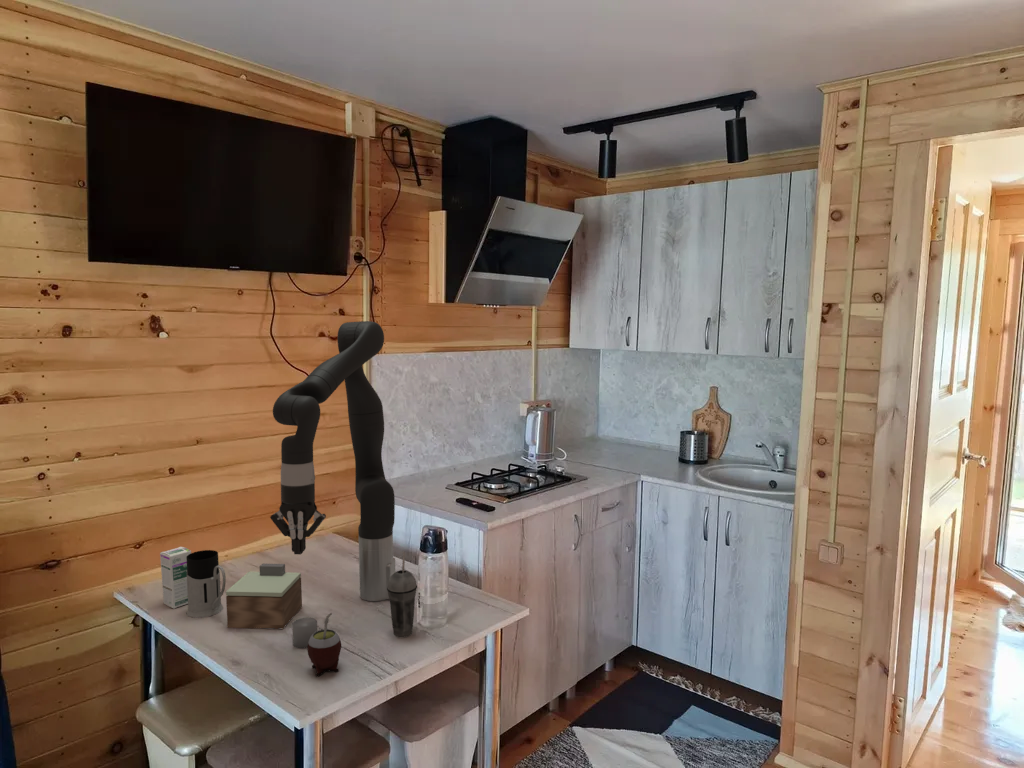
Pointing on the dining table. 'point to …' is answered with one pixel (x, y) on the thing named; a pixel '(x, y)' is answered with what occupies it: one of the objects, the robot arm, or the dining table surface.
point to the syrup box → (174, 576)
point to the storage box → (264, 609)
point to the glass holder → (204, 584)
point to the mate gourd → (324, 649)
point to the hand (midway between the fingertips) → (298, 553)
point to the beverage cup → (402, 601)
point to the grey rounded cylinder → (303, 631)
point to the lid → (265, 582)
